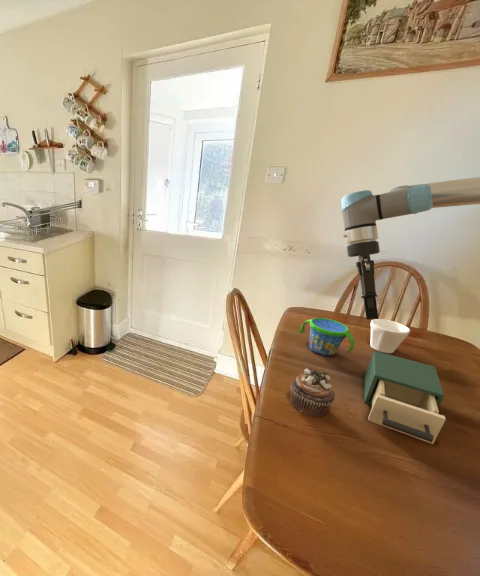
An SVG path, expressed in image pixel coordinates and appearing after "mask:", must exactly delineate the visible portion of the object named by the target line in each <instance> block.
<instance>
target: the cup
mask: <svg viewBox="0 0 480 576" xmlns="http://www.w3.org/2000/svg"><path fill="white" fill-rule="evenodd" d="M369 325H370V341H369V343H370V344H369V347H370V348H371V350H373V351H377V352H381V353H385V354H389V355H392V354H393V353H394V352H395V351H396V350H397V349H398V348H399V346H400V345H401V344H402V343H403V341H404V340H405V339H406V338H407V337H408V336H409V335H410V332H411V329H410V328H409V327H408V326H406V325H404V324H402V323H401V322H398V321H393V320H390V319H385V318H384V319H383V318H379V319H370V324H369Z"/></svg>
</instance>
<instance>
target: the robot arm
mask: <svg viewBox="0 0 480 576" xmlns="http://www.w3.org/2000/svg"><path fill="white" fill-rule="evenodd" d="M340 203H341V204H340V205H341V216H342V222H343V228H344V234H343V235H342V238H343V239H344V238H345V243H346V244H347V246H346V253H347V256H348V257H349V258H353V257H355V258H356V257H358V261H356V262H355V266H356V268H357V274H358V276H359V281H360V287H361V297H360V298H361V299H363V305H364V311H365V319H366V320H374V319H380V318H379V312H378V305H377V298H378V294H377V291H376V282H375V260H374V259H371V255H377V254H379V253H381V249H380V242H379V241H378V239H379V233H378V226H377V221H382V220H385V219H391V218H398V217H403V216H408V215H417V214H419V213H423V212H424V213H425V212H427V211H430V210H432V209H439V208H447V207H459V206H472V205H480V176H475V177H467V178H459V179H452V180H450V179H449V180H444V181H443V180H442V181H435V182H428V183H420V184H411V185H399V186H397V187H394V188H392V189H391V190H390V191H389V192H384V193H380V194H373V192H372V191H371V190H369V189H366V190H365V189H363V190H358V191H354V192H351V193H347V194H346V195H344V196H343V197H341V201H340Z"/></svg>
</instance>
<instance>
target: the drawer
mask: <svg viewBox="0 0 480 576" xmlns="http://www.w3.org/2000/svg"><path fill="white" fill-rule="evenodd" d="M439 413H440V411H439V407H437V403H436V400H435V396H434V395H431V394H428V393H425V392H421V391H418V390H415V389H411V388H408V387H405V386H401V385H398V384H395V383H391V382H388V381H385V380H381V379H377V382H376V385H375V387H374V390H373V392H372V405H371V409H370V412H369V413H368V414H369V415H368V417H367V421H369V422H372V423H374V424H377V425H379V426H382V427H385V428H387V429H390V430H393V431H396V432H398V433H401V434H403V435H407V436H410V437H413V438H415V439H417V440H421V441H423V442H425V443H429V444H432V445H434V443H435V442H436V439H437V437H438V435H439V434H440V432H441V429H442V428H443V426H444V424H445V422H446V416H445V415H444V414H439Z"/></svg>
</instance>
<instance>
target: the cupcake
mask: <svg viewBox="0 0 480 576" xmlns="http://www.w3.org/2000/svg"><path fill="white" fill-rule="evenodd" d="M330 379H331V376H330V375H329V373H327V372H325V371H324V372H323V371H319V370H314V369H312V368H305V369H304V371H303V372H302V373H300V374H298V375H297V376H296V377H295V379H294V380H292V382H291V384H290V404H291V405H292V407H293V408H294V409H296V411H299V412H300V413H302V414H304V415H307V416H310V417H323V416H324V415H325V414H326V412H327V411H328V409H329V408H330V406H332V404H333V403H334V402H335V397H336V395H335V391H334V387H333V384H332V383H331V381H330Z"/></svg>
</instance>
